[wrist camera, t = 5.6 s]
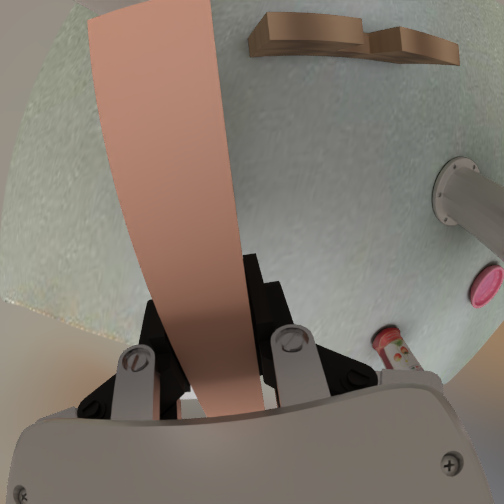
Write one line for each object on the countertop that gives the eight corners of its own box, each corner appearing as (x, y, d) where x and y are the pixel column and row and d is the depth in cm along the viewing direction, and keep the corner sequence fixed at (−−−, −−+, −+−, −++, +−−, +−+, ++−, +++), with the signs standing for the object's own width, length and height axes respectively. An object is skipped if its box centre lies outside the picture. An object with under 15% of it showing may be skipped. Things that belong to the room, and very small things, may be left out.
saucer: (467, 275, 52) (475, 284, 50) (499, 252, 51) (507, 259, 48) (463, 308, 59) (470, 316, 56) (494, 286, 57) (500, 292, 55)
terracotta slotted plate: (168, 64, 14) (87, 20, 4) (210, 57, 14) (209, -11, 4) (218, 322, 24) (229, 456, 14) (247, 318, 24) (271, 450, 14)
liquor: (364, 348, 58) (415, 457, 34) (375, 325, 54) (437, 440, 30) (391, 343, 59) (443, 443, 35) (403, 320, 55) (465, 425, 31)
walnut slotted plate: (397, 47, 27) (458, 44, 17) (398, 63, 29) (459, 65, 19) (247, 38, 26) (266, 12, 16) (250, 57, 28) (270, 39, 17)
